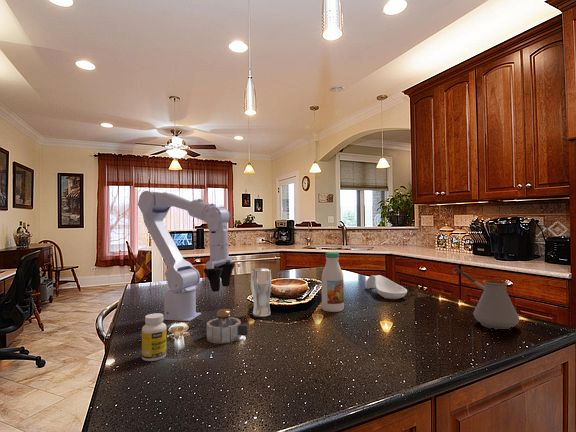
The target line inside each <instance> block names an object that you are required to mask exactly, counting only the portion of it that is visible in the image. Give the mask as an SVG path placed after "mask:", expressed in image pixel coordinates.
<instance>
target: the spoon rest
mask: <svg viewBox="0 0 576 432" xmlns="http://www.w3.org/2000/svg"><path fill="white" fill-rule="evenodd" d="M370 288H371V289H375V290H376V292H377V294H379V296H381V297H382V298H383V297H384V299H386V300H398V299H401V298H403V297H405V296H406V294H407V293H408V289H407V288H405V287H404V286H402V285H400V284H398V283H396V282H395V281H392V280H391V279H389V278H387V277H385V276H383V275H380V274H378V275H377V274H376V275H373V274H371V275H370V276H369V277H368V278H367V280H366V282H365V289H370Z"/></svg>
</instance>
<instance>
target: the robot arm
mask: <svg viewBox="0 0 576 432" xmlns="http://www.w3.org/2000/svg"><path fill="white" fill-rule="evenodd" d="M137 206H138V208H139V209H140V212H141V214H142V218H143V223H144V225H145V227H146V229H147V231H148V233H149V235H150V236H151V238H152V240H153V243H154V244H155V246H156V247H157V249H158V251H159V254H160V255H161V258H162V259H163V261H164V262H165V265H166V266H167V268H166V269H165V270H166V271H165V273H164V276H165V278H166V284H167V286H168V288H169V290H168V291H167V292H166V293H165V294H164V300H163V303H164V305H163V308H164V309H163V310H164V312H163V321H165V320H167V321H177V322H179V321H180V322H182V321H183V322H190V321H192V320H194V319H195V318H197V317H198V316H200V315H202V313H201V312H197V307H196V305H197V304H196V303H197V301H196V296H197V294H196V289H197V287H198V286H197V285H199V283H200V282H201V274H200V272H199V270H198V269H197V268H195V267H194V266H193V264H192V263H191V262H190V261H188V260H186V259H185V258H183V255H182V254H181V251H180V250H179V249H178V246H177V245H176V243H175V241H174V239H173V237H172V235H171V233H170V232H169V230H168V229H167V226H166V225H165V223H164V219H165V218H166V216H167V215H168V213H169V211H170V209H171V207H174V208H178V209H181V210H183V211H187V213H188V215H189V216H191V218H195V219H197V220H200V221H202V222H205V223H206V225H207V230H208V240H209V241H208V243H209V260H208V261H206V263H205V264H206V265H205V266H206V267H205V268H203V273H204V274H205V275H206V279H207V280H208V283H209V286H210V289H211V292H214V293H215V292H217V293H218V292H220V288H221V286H222V287H230V285H231V284H230V283H231V278H232V274H233V270H234V268H235V266H236V265H235V263H234V262H233V258H232V256H229V255H230V254H229V238H228V237H229V236H228V235H229V234H228V233H229V232H228V223H229V222H230V220H231V212H230V210H229V209H228V208H226V207H224V206H217V205H216V204H215V203H207V202H205V200H204V199H202V198H197V199H194V200H189V199H186V198H184V197H181V196H179V195H177V194H173V193H168V192H159V191H150V190H144V191H142V192H141V193H140V195H139V198H138V202H137Z"/></svg>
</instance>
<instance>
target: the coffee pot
mask: <svg viewBox="0 0 576 432" xmlns="http://www.w3.org/2000/svg"><path fill="white" fill-rule="evenodd" d="M454 270H455V271H454ZM452 273H454V274H456V273H459V274H461V275H462V276H463V277H464V278H465V279H467V280H469V281H470V282H471V283H473V284H475V285H476V286H478V287H479V288H480V289H481V290H483V292H482V294H481V296H480V297H479V300H478V302H477V305H476V307H475V309H474V310H473V312H472V314H473V316H474V319H475V320H476V321H477V322H479V323H480V325H481V326H483V327H484V328H488V329H491V328H494V329H493V330H497V329H509V328H511V327H512V328H514V327H515V326H517V325H518V323H519V322H520V316H519V315H518V313H517V310H516V308H515V306H514V305H513V303H512V300H511V298H510V296H509V294H508V291H507V286H508V285H509V282H507V281H504V280H497V279H491V280H490V279H486V280H485V279H484V280H483V281H482V283H483V284H484V285H482V284H481V283H480V282H478V281H477V280H476V279H474V278H473V277H472V276H471V275H469V274H468V273H467V272H464V271H463V270H462V269H460V268H458V267H454V268H453V269H452ZM512 328H511V329H512ZM509 330H510V329H509Z"/></svg>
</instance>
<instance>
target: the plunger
mask: <svg viewBox="0 0 576 432" xmlns="http://www.w3.org/2000/svg"><path fill="white" fill-rule="evenodd" d="M229 317H231V309H229V308H222V309H217V311H216V318H219V319H222V327H226V318H229Z"/></svg>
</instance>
